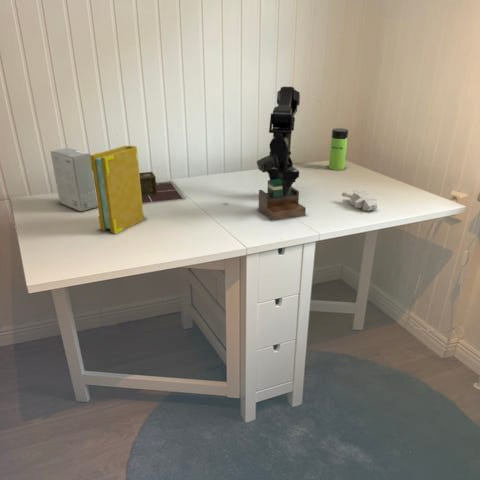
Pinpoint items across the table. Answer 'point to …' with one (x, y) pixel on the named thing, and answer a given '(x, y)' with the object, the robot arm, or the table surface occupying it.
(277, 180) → the tea packet
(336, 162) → the tumbler
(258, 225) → the table surface
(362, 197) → the bunny figurine
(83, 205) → the hard drive box
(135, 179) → the book
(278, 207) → the step shelf
